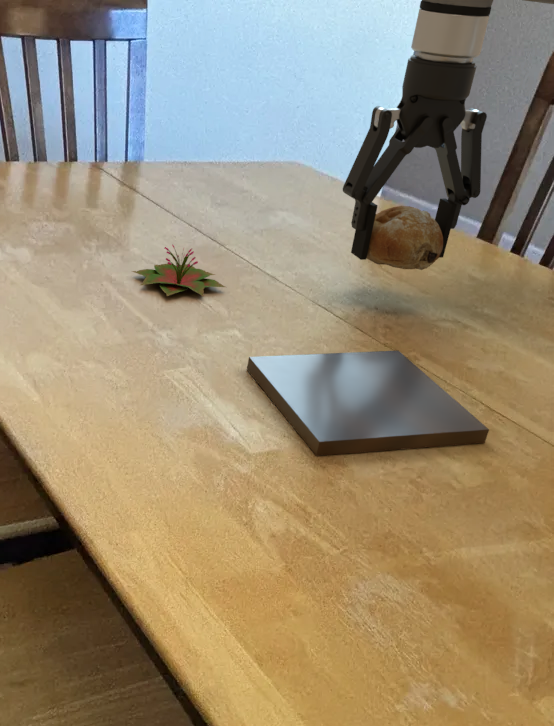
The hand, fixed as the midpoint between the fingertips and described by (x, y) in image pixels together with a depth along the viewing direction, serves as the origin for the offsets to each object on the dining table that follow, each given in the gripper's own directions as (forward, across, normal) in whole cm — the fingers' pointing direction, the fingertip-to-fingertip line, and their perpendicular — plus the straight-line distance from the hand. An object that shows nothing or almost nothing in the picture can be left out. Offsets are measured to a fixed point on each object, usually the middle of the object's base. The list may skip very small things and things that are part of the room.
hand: (397, 255), depth 110 cm
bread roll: (0, 0, 0) cm, 1 cm away
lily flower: (+6, +26, -7) cm, 28 cm away
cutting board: (+6, +17, +27) cm, 32 cm away
